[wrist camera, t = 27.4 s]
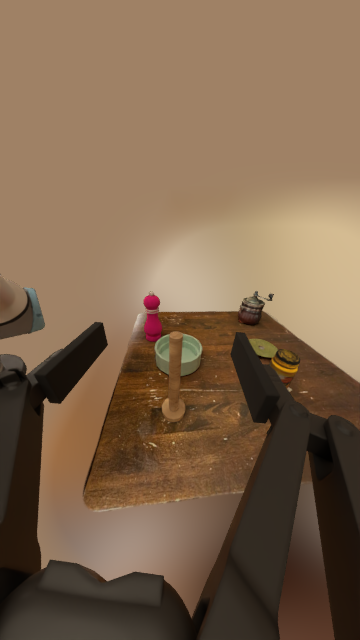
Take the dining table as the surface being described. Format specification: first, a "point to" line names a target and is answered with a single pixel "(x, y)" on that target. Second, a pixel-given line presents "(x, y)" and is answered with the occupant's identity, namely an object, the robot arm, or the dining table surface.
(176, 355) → the wooden post with base
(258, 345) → the olive green flat disc
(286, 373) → the condiment
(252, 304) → the coffee grinder
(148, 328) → the pepper mill
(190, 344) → the bowl
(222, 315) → the dining table surface
